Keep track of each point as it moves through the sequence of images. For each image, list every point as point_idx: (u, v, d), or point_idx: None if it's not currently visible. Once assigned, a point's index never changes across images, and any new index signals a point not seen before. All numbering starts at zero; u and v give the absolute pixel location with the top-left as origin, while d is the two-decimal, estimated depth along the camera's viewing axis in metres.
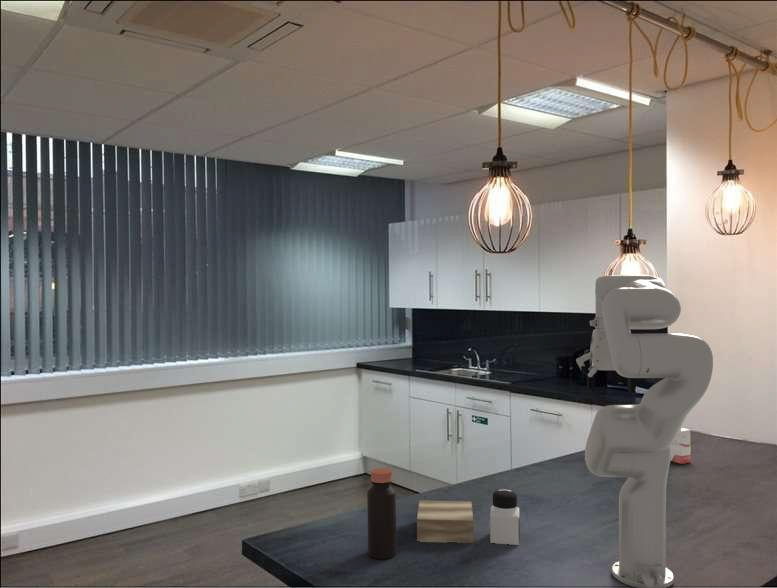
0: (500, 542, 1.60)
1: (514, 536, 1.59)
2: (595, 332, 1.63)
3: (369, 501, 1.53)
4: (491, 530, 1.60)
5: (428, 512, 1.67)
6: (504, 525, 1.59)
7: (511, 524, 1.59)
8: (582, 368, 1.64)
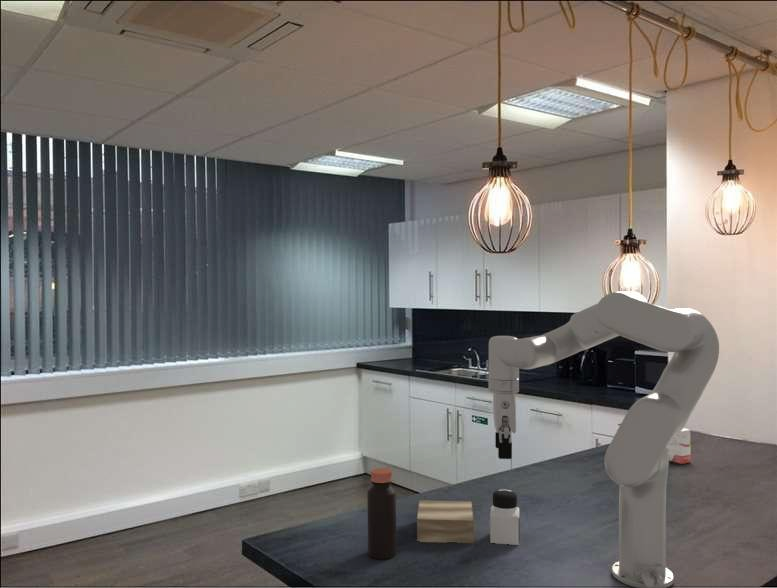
0: (500, 542, 1.60)
1: (514, 536, 1.59)
2: (512, 395, 1.58)
3: (369, 501, 1.53)
4: (491, 530, 1.60)
5: (428, 511, 1.67)
6: (504, 525, 1.59)
7: (511, 524, 1.59)
8: (509, 436, 1.55)
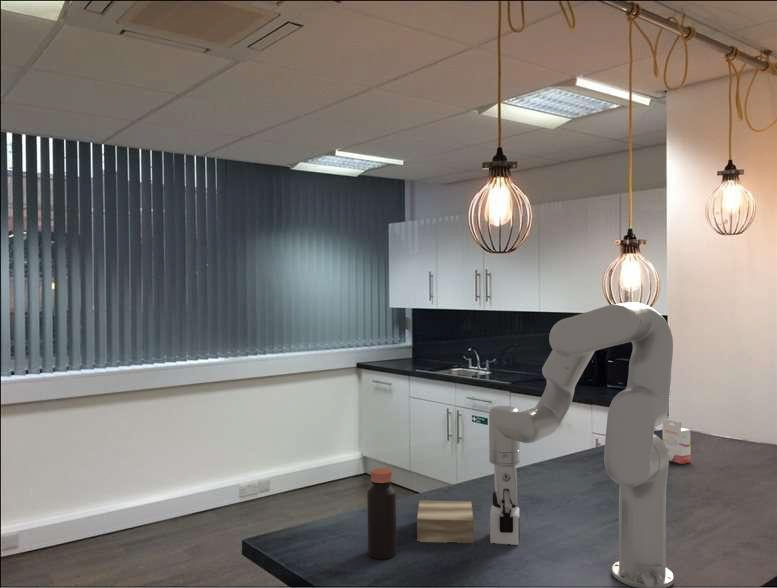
0: (500, 542, 1.60)
1: (514, 536, 1.59)
2: (512, 468, 1.58)
3: (369, 501, 1.53)
4: (491, 530, 1.60)
5: (428, 511, 1.67)
6: None
7: None
8: (510, 511, 1.56)
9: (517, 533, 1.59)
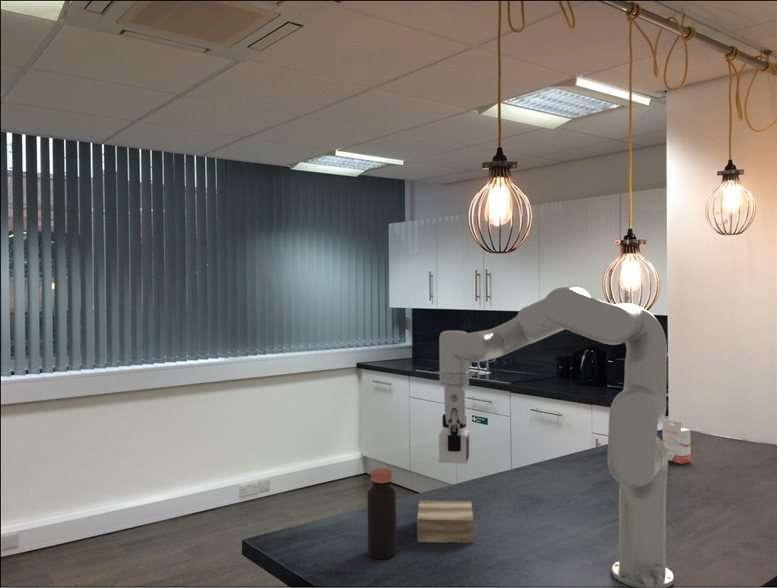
0: (448, 461, 1.64)
1: (462, 454, 1.63)
2: (460, 388, 1.62)
3: (369, 501, 1.53)
4: (440, 449, 1.64)
5: (428, 512, 1.67)
6: None
7: None
8: (457, 429, 1.60)
9: (465, 452, 1.63)
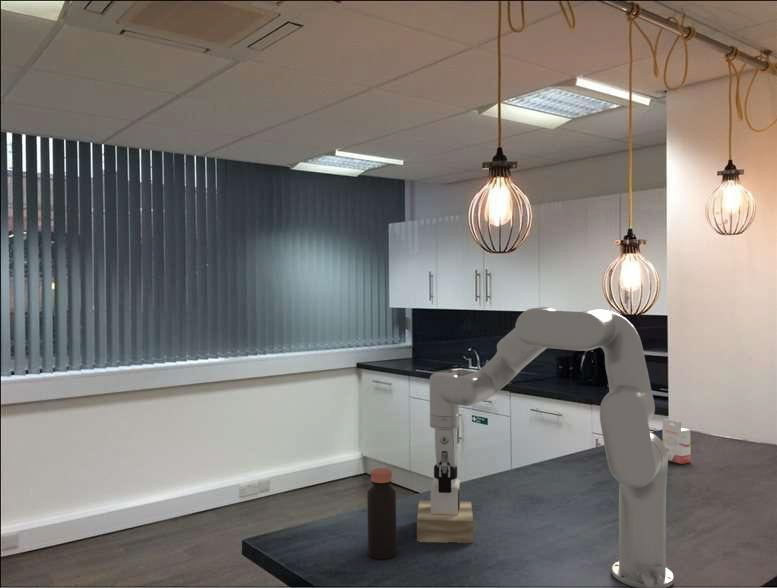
0: (440, 512, 1.65)
1: (453, 506, 1.64)
2: (451, 431, 1.63)
3: (369, 501, 1.53)
4: (432, 501, 1.65)
5: (427, 512, 1.67)
6: (444, 496, 1.65)
7: (450, 494, 1.64)
8: (447, 471, 1.61)
9: (456, 503, 1.64)
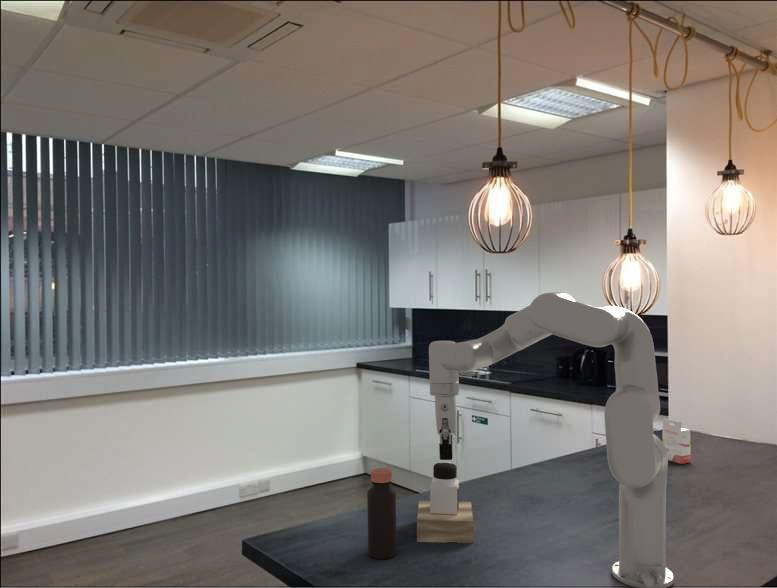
0: (439, 512, 1.65)
1: (453, 505, 1.65)
2: (451, 398, 1.63)
3: (369, 501, 1.53)
4: (431, 500, 1.65)
5: (427, 512, 1.67)
6: (444, 495, 1.65)
7: (450, 494, 1.65)
8: (448, 437, 1.60)
9: (456, 503, 1.65)
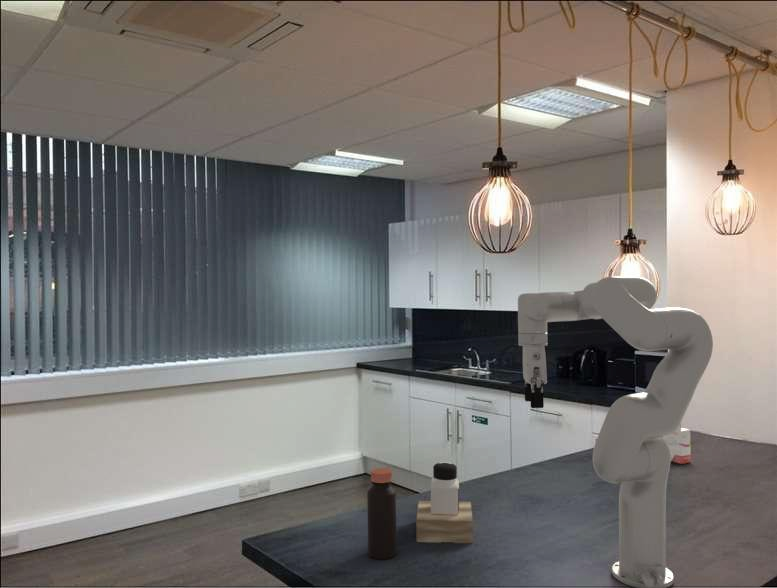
0: (440, 512, 1.65)
1: (454, 506, 1.64)
2: (542, 348, 1.67)
3: (369, 501, 1.53)
4: (432, 501, 1.65)
5: (427, 512, 1.67)
6: (444, 496, 1.65)
7: (451, 494, 1.64)
8: (541, 385, 1.64)
9: (457, 503, 1.64)
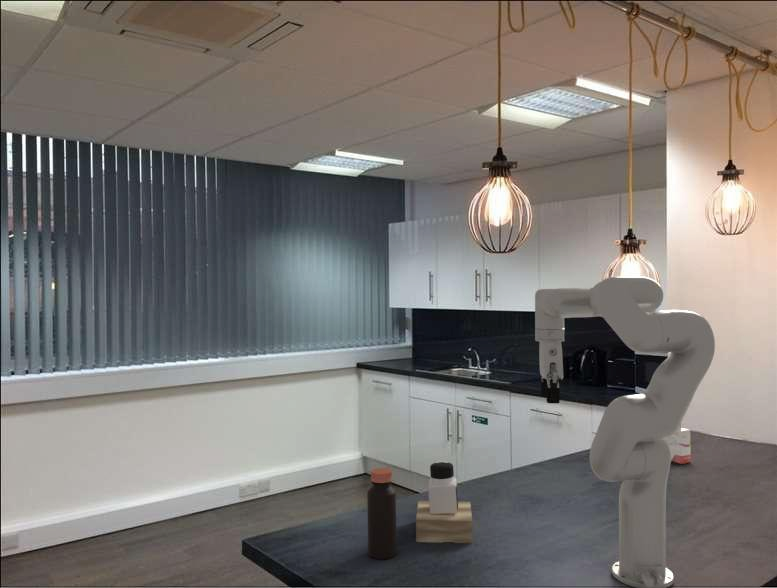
0: (439, 512, 1.65)
1: (452, 504, 1.64)
2: (558, 343, 1.67)
3: (369, 501, 1.53)
4: (430, 501, 1.65)
5: (427, 512, 1.67)
6: (442, 495, 1.65)
7: (448, 493, 1.65)
8: (557, 380, 1.65)
9: (455, 501, 1.64)
